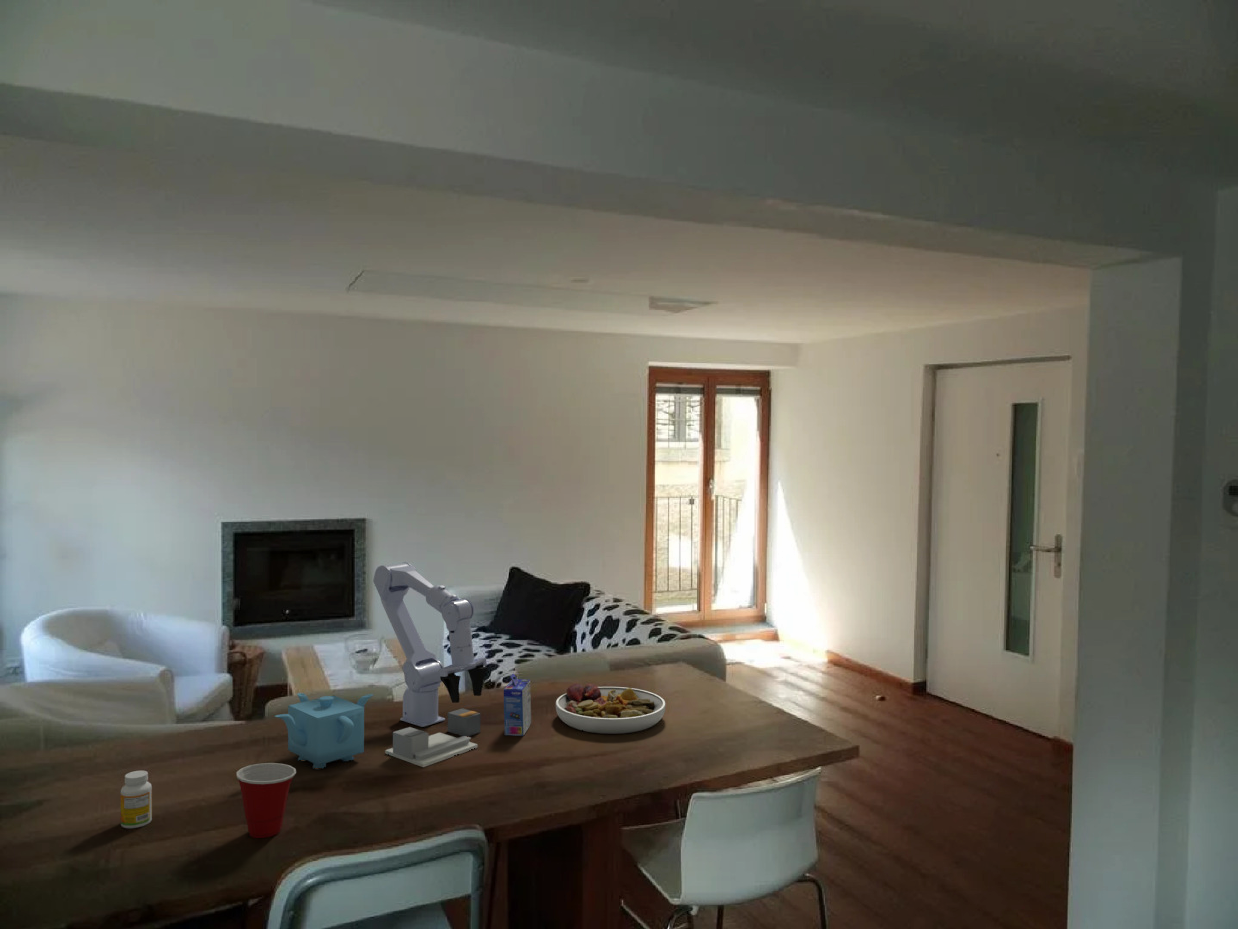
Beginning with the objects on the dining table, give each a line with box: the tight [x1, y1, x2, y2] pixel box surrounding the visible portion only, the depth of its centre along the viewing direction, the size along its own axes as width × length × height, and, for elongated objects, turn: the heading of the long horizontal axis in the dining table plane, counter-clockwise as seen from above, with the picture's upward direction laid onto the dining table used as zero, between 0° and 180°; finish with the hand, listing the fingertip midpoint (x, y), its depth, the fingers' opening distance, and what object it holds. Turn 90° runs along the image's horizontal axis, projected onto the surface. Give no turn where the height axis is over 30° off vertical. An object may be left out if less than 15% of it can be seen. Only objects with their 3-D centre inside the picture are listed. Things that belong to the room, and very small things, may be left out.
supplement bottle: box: [120, 770, 153, 829], centre depth 174 cm, size 5×5×10 cm
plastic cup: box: [236, 762, 297, 839], centre depth 171 cm, size 11×11×12 cm
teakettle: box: [274, 692, 374, 769], centre depth 210 cm, size 19×19×15 cm
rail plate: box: [384, 726, 478, 768], centre depth 216 cm, size 14×17×6 cm
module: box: [447, 707, 482, 737], centre depth 230 cm, size 7×5×5 cm
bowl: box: [555, 683, 666, 735], centre depth 242 cm, size 30×30×8 cm
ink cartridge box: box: [503, 673, 532, 737], centre depth 232 cm, size 10×6×14 cm, turn 174°
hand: (466, 699), depth 229 cm, fingers open, 7 cm apart
